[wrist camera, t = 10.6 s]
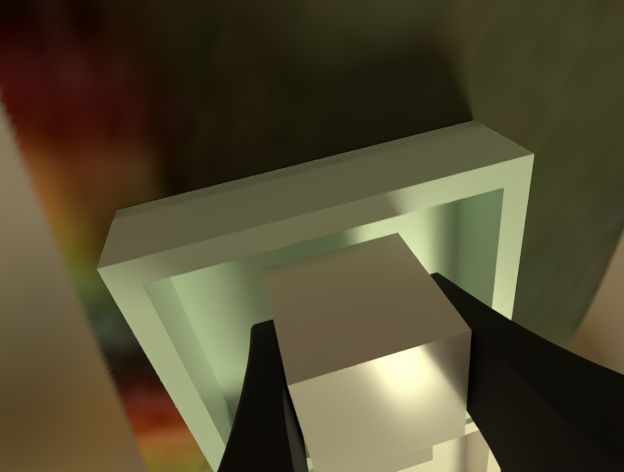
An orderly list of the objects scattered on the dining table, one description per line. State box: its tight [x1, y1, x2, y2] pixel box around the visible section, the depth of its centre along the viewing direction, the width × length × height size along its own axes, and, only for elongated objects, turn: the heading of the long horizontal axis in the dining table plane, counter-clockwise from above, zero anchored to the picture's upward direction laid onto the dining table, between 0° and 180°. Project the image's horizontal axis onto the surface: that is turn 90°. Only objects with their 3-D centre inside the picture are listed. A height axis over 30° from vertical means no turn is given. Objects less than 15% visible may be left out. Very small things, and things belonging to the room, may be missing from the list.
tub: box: [97, 120, 534, 472], centre depth 15 cm, size 12×12×3 cm
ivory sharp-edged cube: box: [263, 233, 472, 472], centre depth 12 cm, size 4×4×4 cm
